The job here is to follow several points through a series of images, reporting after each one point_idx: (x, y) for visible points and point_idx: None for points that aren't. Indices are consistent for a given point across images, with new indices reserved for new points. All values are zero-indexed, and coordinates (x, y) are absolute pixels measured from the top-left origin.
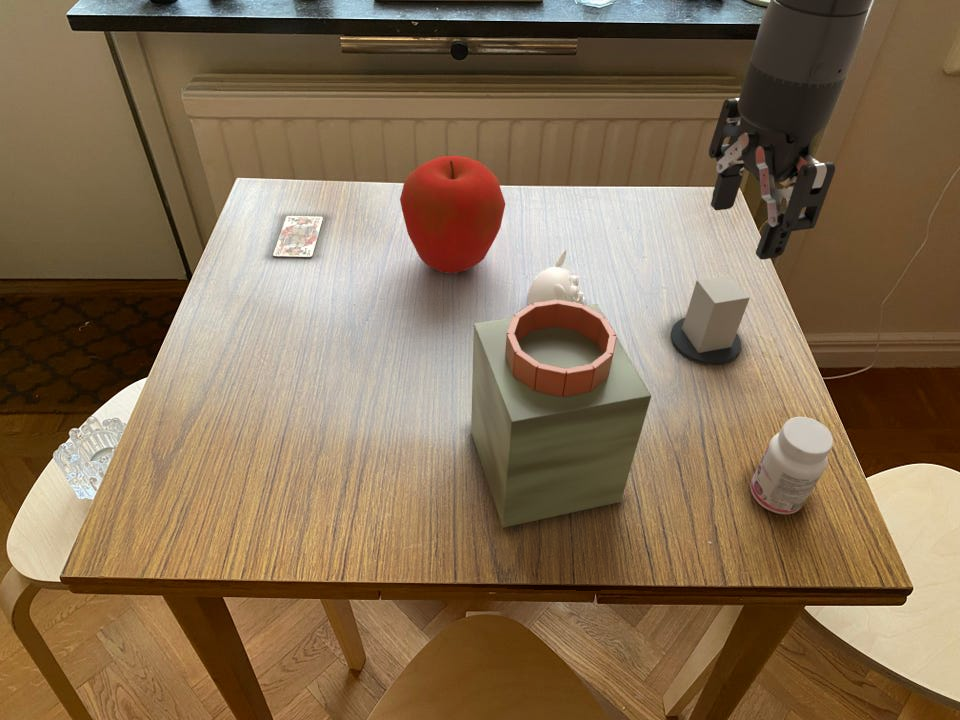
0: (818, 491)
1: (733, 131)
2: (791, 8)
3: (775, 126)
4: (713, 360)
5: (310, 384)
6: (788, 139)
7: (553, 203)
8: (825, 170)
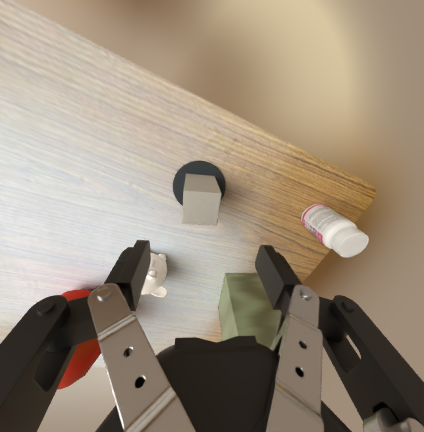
0: (326, 193)
1: (28, 409)
2: None
3: None
4: (221, 195)
5: (173, 342)
6: None
7: None
8: None
